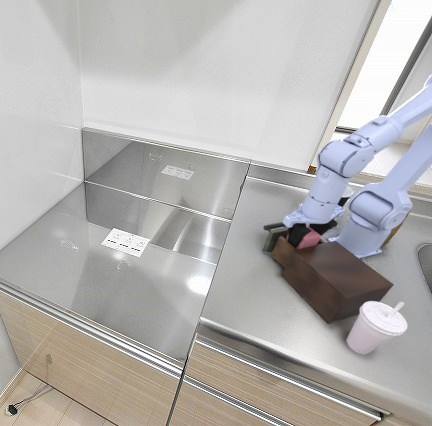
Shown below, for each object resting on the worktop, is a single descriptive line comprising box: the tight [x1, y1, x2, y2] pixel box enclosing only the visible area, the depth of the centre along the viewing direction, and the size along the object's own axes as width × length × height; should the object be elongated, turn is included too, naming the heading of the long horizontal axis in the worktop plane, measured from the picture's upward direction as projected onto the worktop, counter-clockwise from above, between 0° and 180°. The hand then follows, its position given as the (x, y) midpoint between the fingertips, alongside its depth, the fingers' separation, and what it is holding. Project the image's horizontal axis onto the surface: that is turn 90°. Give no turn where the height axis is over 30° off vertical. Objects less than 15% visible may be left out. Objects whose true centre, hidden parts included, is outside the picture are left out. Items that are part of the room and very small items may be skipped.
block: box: [286, 224, 322, 249], centre depth 70 cm, size 4×4×5 cm
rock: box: [380, 210, 411, 249], centre depth 80 cm, size 11×9×10 cm
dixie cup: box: [333, 185, 355, 220], centre depth 85 cm, size 8×8×11 cm
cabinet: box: [281, 241, 395, 325], centre depth 64 cm, size 14×12×9 cm
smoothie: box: [345, 301, 408, 356], centre depth 53 cm, size 6×6×14 cm
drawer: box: [262, 221, 327, 269], centre depth 73 cm, size 17×10×7 cm, turn 15°
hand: (300, 243), depth 71 cm, fingers closed on block, 4 cm apart
